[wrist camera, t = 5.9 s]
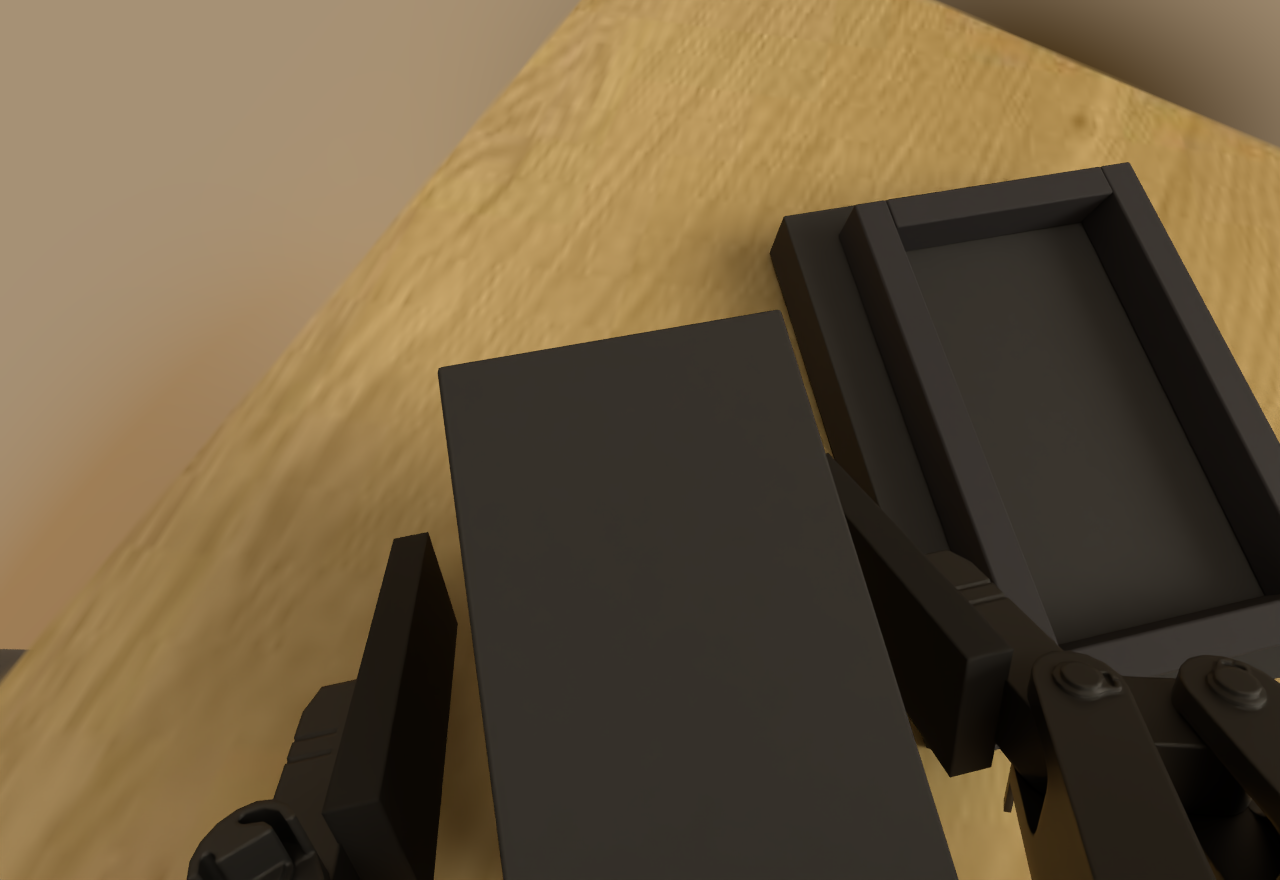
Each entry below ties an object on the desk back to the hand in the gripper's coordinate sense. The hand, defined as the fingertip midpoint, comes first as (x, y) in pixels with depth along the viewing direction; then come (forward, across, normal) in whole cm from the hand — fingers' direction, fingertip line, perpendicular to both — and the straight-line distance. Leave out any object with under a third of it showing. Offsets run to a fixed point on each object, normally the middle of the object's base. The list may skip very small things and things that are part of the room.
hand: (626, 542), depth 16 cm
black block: (0, 0, -5) cm, 5 cm away
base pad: (+4, +13, -2) cm, 14 cm away
